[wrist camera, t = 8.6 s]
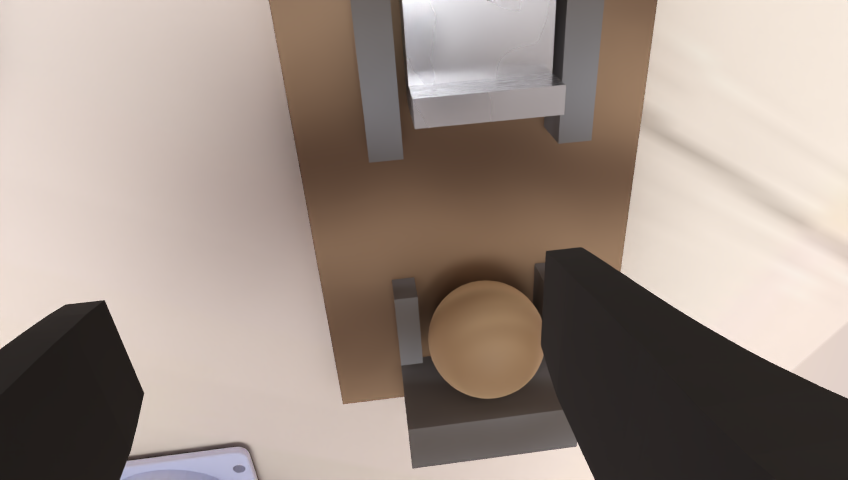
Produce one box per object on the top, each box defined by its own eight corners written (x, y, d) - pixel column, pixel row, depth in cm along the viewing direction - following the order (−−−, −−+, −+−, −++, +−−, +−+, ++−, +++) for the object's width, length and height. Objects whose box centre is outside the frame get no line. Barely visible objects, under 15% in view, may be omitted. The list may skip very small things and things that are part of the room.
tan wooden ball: (526, 338, 23) (557, 416, 20) (425, 350, 23) (439, 431, 19) (529, 252, 21) (565, 322, 18) (418, 265, 21) (432, 338, 17)
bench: (598, 354, 25) (643, 437, 21) (343, 386, 25) (342, 477, 21) (667, -210, 15) (776, -246, 11) (240, -185, 15) (202, -213, 11)
